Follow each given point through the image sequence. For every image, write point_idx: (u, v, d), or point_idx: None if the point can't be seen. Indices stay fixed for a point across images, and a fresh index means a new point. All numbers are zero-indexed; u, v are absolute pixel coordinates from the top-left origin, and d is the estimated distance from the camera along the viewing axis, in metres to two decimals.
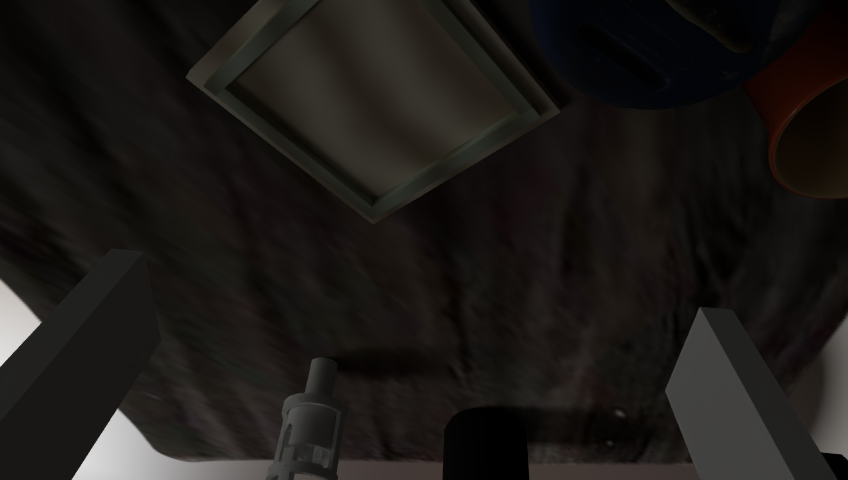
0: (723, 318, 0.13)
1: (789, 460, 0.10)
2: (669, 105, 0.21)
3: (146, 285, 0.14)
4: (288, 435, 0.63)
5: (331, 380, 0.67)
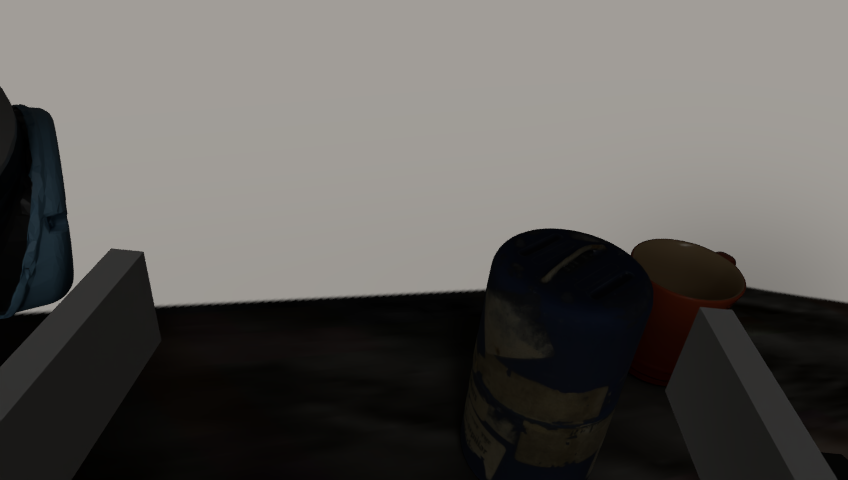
0: (723, 318, 0.13)
1: (789, 460, 0.10)
2: (645, 274, 0.34)
3: (146, 284, 0.14)
4: None
5: None
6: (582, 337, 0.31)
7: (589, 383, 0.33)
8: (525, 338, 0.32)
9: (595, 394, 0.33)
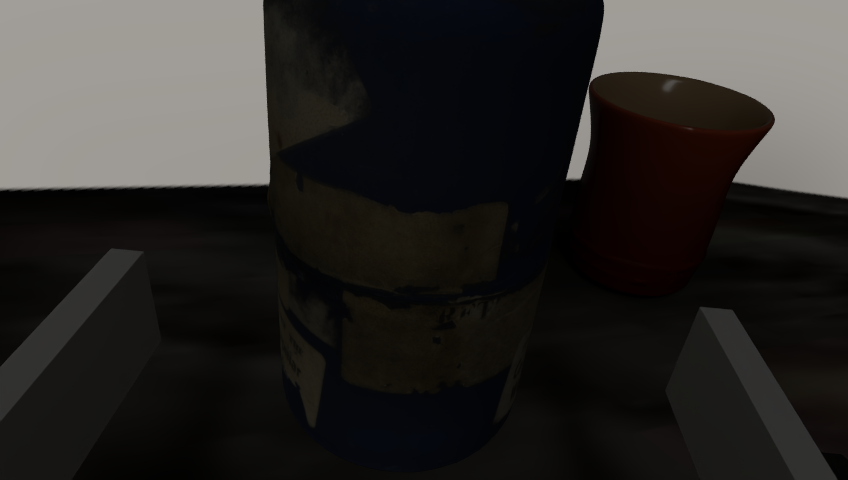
0: (723, 318, 0.13)
1: (789, 460, 0.10)
2: None
3: (146, 285, 0.14)
4: None
5: None
6: (425, 51, 0.13)
7: (461, 187, 0.15)
8: (311, 82, 0.14)
9: (479, 220, 0.15)
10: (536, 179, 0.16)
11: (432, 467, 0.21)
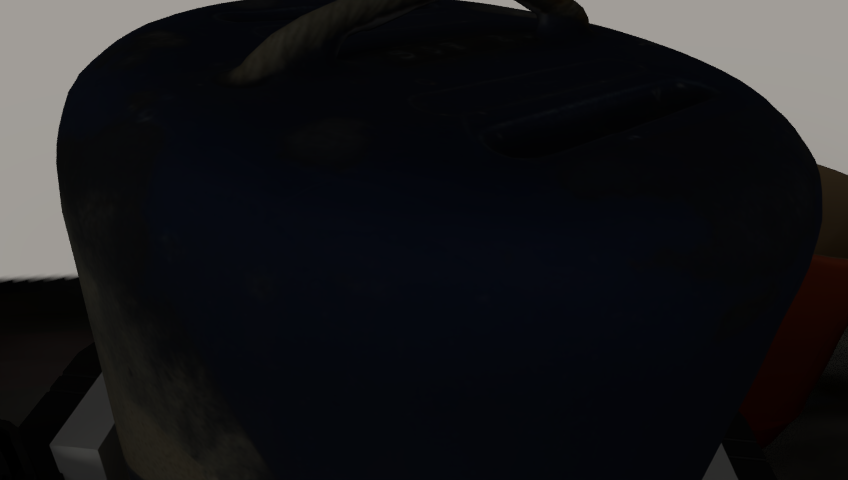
0: None
1: None
2: None
3: None
4: None
5: None
6: (418, 404, 0.04)
7: None
8: (142, 395, 0.06)
9: None
10: None
11: None
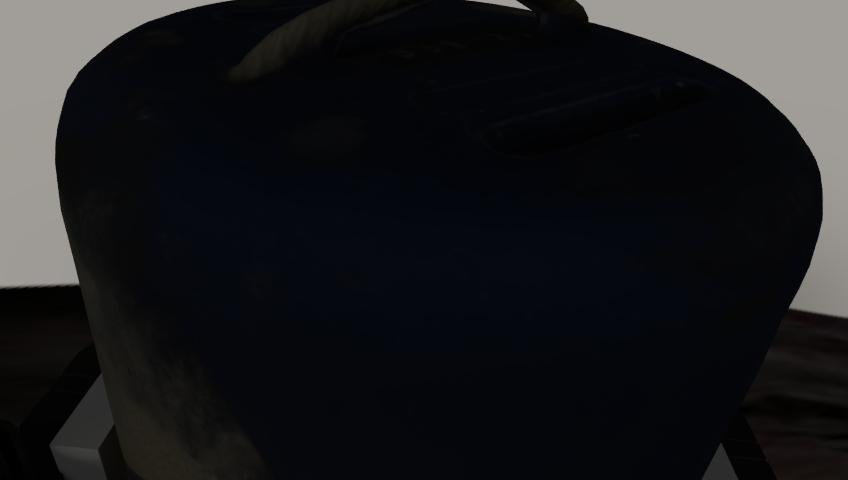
0: None
1: None
2: None
3: None
4: None
5: None
6: (417, 402, 0.04)
7: None
8: (142, 394, 0.06)
9: None
10: None
11: None
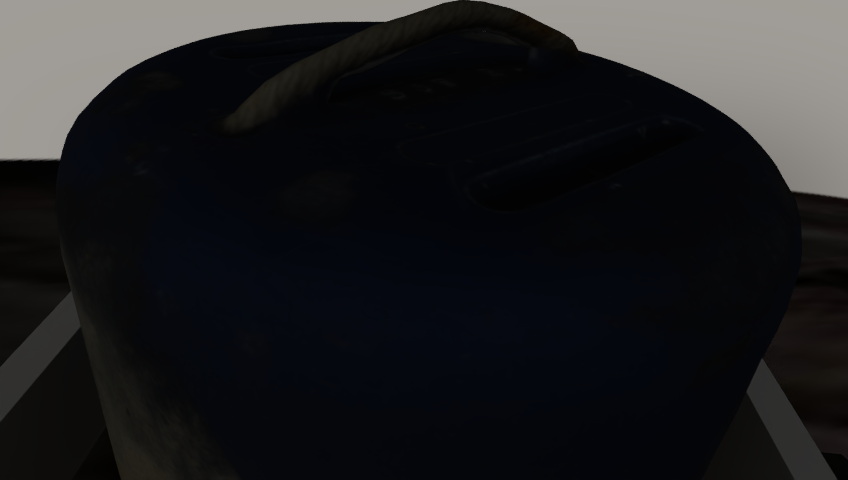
0: None
1: (789, 460, 0.10)
2: (745, 130, 0.08)
3: None
4: None
5: None
6: (403, 453, 0.05)
7: None
8: (140, 434, 0.06)
9: None
10: None
11: None
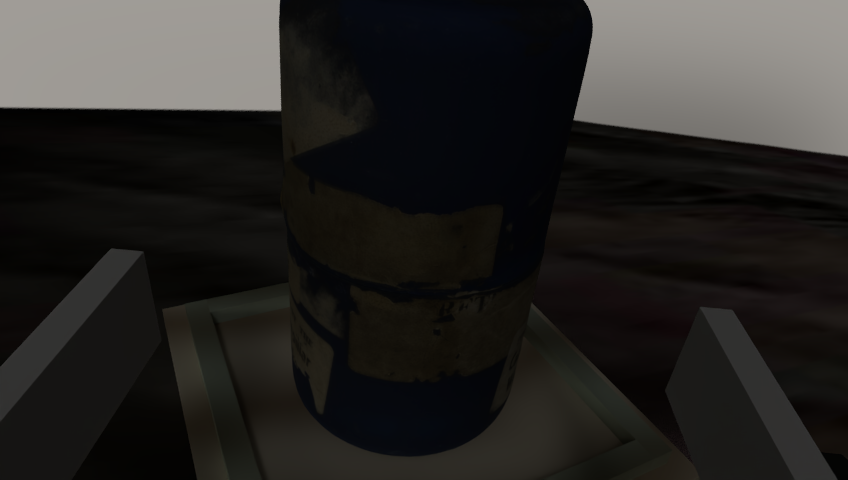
0: (723, 318, 0.13)
1: (789, 460, 0.10)
2: None
3: (146, 285, 0.14)
4: None
5: None
6: (427, 69, 0.14)
7: (459, 191, 0.16)
8: (324, 95, 0.16)
9: (477, 221, 0.17)
10: (529, 184, 0.17)
11: (432, 452, 0.22)
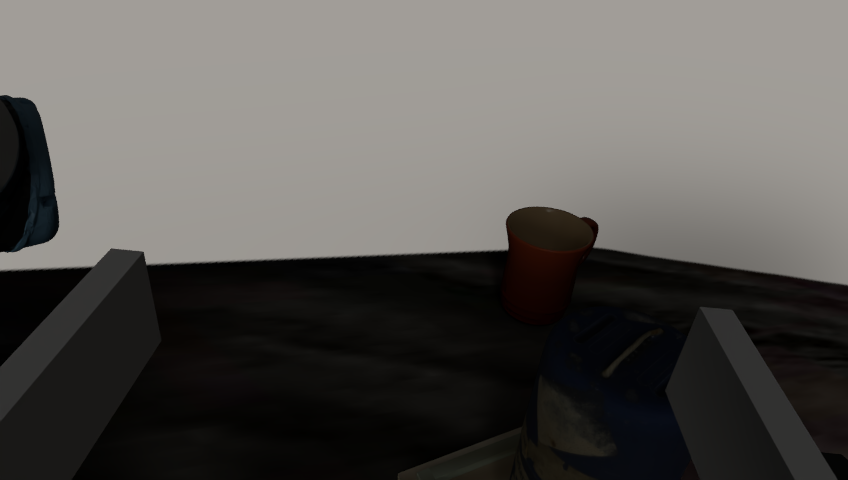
0: (723, 318, 0.13)
1: (789, 460, 0.10)
2: None
3: (146, 285, 0.14)
4: None
5: None
6: (648, 439, 0.29)
7: None
8: (585, 436, 0.31)
9: None
10: (683, 468, 0.32)
11: None
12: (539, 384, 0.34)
